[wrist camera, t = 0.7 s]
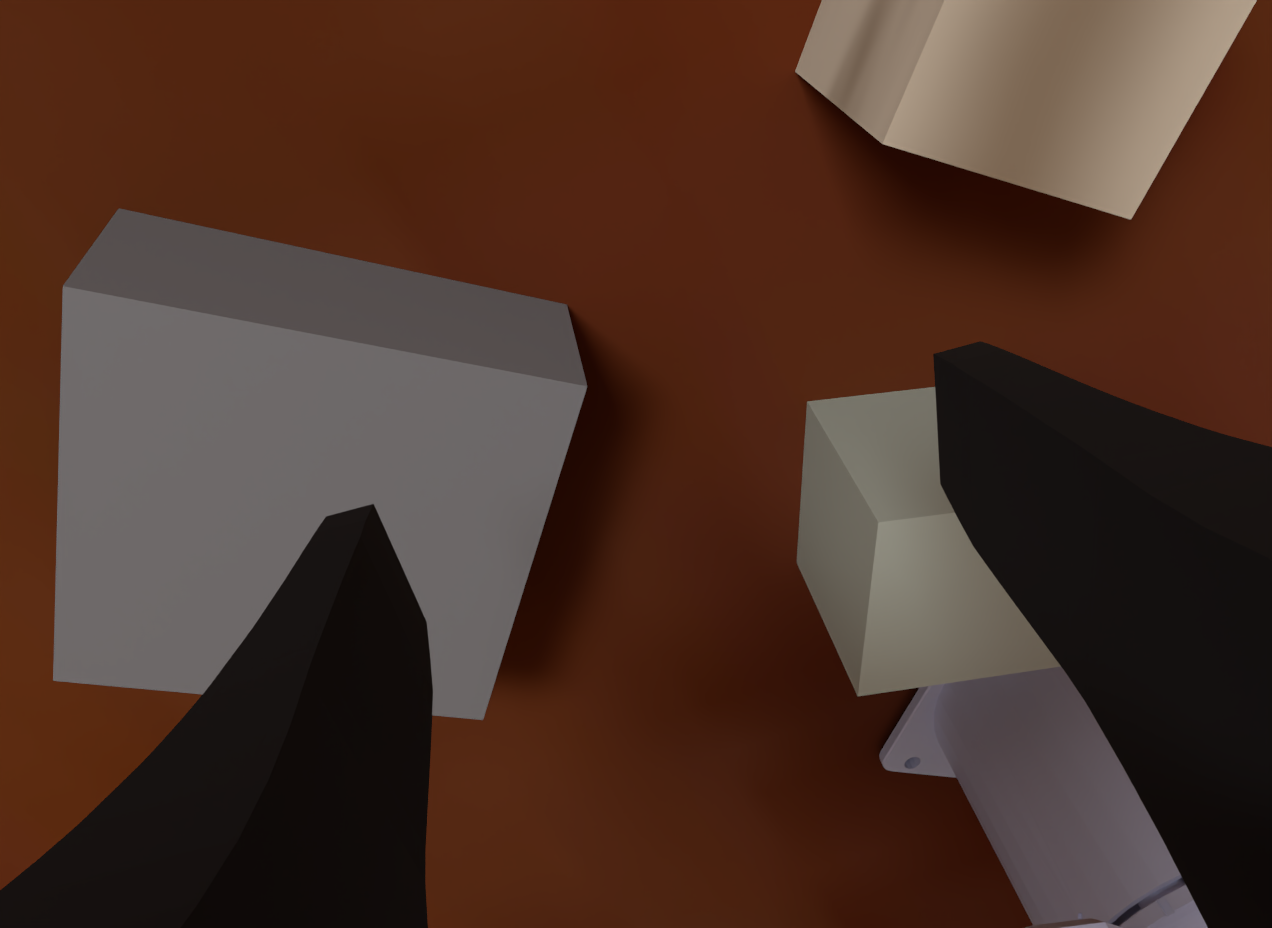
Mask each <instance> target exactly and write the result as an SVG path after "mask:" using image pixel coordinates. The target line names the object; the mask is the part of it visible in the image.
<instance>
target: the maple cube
mask: <svg viewBox="0 0 1272 928" xmlns="http://www.w3.org/2000/svg"><path fill="white" fill-rule="evenodd" d="M1256 1H1257V0H822V2H821V4H820V7H819V9H818V12H817V15H816V17H815V20H814V23H813V25H812V28H811V31H810V33H809V36H808V39H807V41H806V44H805V47H804V49H803V52H802V54H801V57H800V60H799V62H798V65H797V68H796V70H795V72H796V73H797V74H799V75H800V76H801V77H802V78H803V79H805V80H806V81H807V82H808V83H809V84H811V85H812V86H813V87H814V88H815V89H817V90H818V91H819V92H820V93H821V94H823V95H824V96H825V97H826V98H827V99H829V100H830V101H831V102H832V103H833V104H835V105H836V106H837V107H838V108H840V109H841V110H842V111H843V112H844V113H846V114H847V115H848V116H849V117H850V118H852V119H853V120H854V121H855V122H856V123H858V124H859V125H860V126H861V127H862V128H864V129H865V130H866V131H867V132H868V133H870V134H871V135H872V136H873V137H874V138H876V139H877V140H878V141H879V142H880V143H882V144H884V145H887V146H891V147H894V148H897V149H900V150H904V151H907V152H910V153H914V154H917V155H920V156H923V157H927V158H930V159H933V160H937V161H940V162H943V163H946V164H950V165H953V166H956V167H960V168H963V169H966V170H969V171H973V172H976V173H979V174H983V175H986V176H989V177H992V178H996V179H999V180H1002V181H1005V182H1009V183H1012V184H1015V185H1019V186H1022V187H1025V188H1028V189H1032V190H1035V191H1038V192H1042V193H1045V194H1048V195H1051V196H1055V197H1058V198H1061V199H1065V200H1068V201H1071V202H1074V203H1078V204H1081V205H1084V206H1088V207H1091V208H1094V209H1097V210H1101V211H1104V212H1107V213H1111V214H1114V215H1117V216H1120V217H1124V218H1127V219H1130V220H1131V219H1132V217H1133V215H1134V214H1135V212H1136V210H1137V208H1138V207H1139V205H1140V203H1141V201H1142V200H1143V198H1144V196H1145V194H1146V193H1147V191H1148V189H1149V187H1150V186H1151V184H1152V182H1153V180H1154V179H1155V177H1156V175H1157V173H1158V172H1159V170H1160V168H1161V166H1162V165H1163V163H1164V161H1165V160H1166V158H1167V156H1168V154H1169V153H1170V151H1171V149H1172V147H1173V146H1174V144H1175V142H1176V140H1177V139H1178V137H1179V135H1180V133H1181V132H1182V130H1183V128H1184V126H1185V125H1186V123H1187V121H1188V119H1189V118H1190V116H1191V114H1192V112H1193V111H1194V109H1195V107H1196V105H1197V104H1198V102H1199V100H1200V98H1201V97H1202V95H1203V93H1204V91H1205V90H1206V88H1207V86H1208V85H1209V83H1210V81H1211V79H1212V78H1213V76H1214V74H1215V72H1216V71H1217V69H1218V67H1219V65H1220V64H1221V62H1222V60H1223V58H1224V57H1225V55H1226V53H1227V51H1228V50H1229V48H1230V46H1231V44H1232V43H1233V41H1234V39H1235V37H1236V36H1237V34H1238V32H1239V30H1240V29H1241V27H1242V25H1243V23H1244V22H1245V20H1246V18H1247V16H1248V15H1249V13H1250V11H1251V10H1252V8H1253V6H1254V4H1255V3H1256Z"/></svg>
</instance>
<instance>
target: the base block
mask: <svg viewBox="0 0 1272 928" xmlns="http://www.w3.org/2000/svg"><path fill="white" fill-rule="evenodd" d="M586 389H587V383H586V379H585V375H584V371H583V367H582V363H581V359H580V355H579V351H578V347H577V343H576V339H575V335H574V331H573V327H572V323H571V319H570V315H569V311H568V307H567V305H566V304H561V303H557V302H552V301H547V300H543V299H538V298H533V297H529V296H524V295H519V294H515V293H510V292H505V291H501V290H496V289H491V288H487V287H482V286H478V285H473V284H468V283H464V282H459V281H454V280H450V279H445V278H440V277H436V276H431V275H426V274H422V273H417V272H412V271H408V270H403V269H398V268H394V267H389V266H384V265H380V264H375V263H370V262H366V261H361V260H356V259H352V258H347V257H342V256H338V255H333V254H329V253H324V252H319V251H315V250H310V249H305V248H301V247H296V246H291V245H287V244H282V243H277V242H273V241H268V240H263V239H259V238H254V237H249V236H245V235H240V234H235V233H231V232H226V231H221V230H217V229H212V228H207V227H203V226H198V225H193V224H189V223H184V222H180V221H175V220H170V219H166V218H161V217H156V216H152V215H147V214H142V213H138V212H133V211H128V210H124V209H118V210H117V212H116V213H115V214H114V216H113V217H112V219H111V220H110V221H109V223H108V224H107V226H106V227H105V228H104V230H103V231H102V232H101V234H100V235H99V237H98V238H97V239H96V241H95V242H94V244H93V245H92V246H91V248H90V249H89V251H88V252H87V253H86V255H85V256H84V258H83V259H82V260H81V262H80V263H79V264H78V266H77V267H76V269H75V270H74V271H73V273H72V274H71V276H70V277H69V278H68V280H67V281H66V283H65V284H64V285H63V304H62V345H61V385H60V426H59V467H58V507H57V548H56V589H55V629H54V670H53V681H62V682H73V683H84V684H95V685H106V686H117V687H128V688H139V689H150V690H161V691H172V692H183V693H193V694H203V693H204V692H205V691H206V690H207V688H208V687H209V686H210V685H211V683H212V682H213V681H214V679H215V678H216V676H217V675H218V674H219V672H220V671H221V670H222V668H223V667H224V666H225V664H226V663H227V662H228V660H229V659H230V658H231V656H232V655H233V654H234V652H235V651H236V650H237V648H238V647H239V646H240V644H241V643H242V642H243V640H244V639H245V637H246V636H247V635H248V633H249V632H250V631H251V629H252V628H253V627H254V625H255V624H256V622H257V621H258V619H259V618H260V616H261V615H262V613H263V612H264V610H265V609H266V607H267V606H268V604H269V603H270V601H271V600H272V598H273V597H274V595H275V594H276V592H277V591H278V589H279V588H280V586H281V585H282V583H283V582H284V580H285V579H286V577H287V576H288V574H289V572H290V571H291V569H292V568H293V566H294V565H295V563H296V561H297V560H298V558H299V557H300V555H301V554H302V552H303V550H304V549H305V547H306V546H307V544H308V543H309V541H310V540H311V538H312V536H313V535H314V533H315V532H316V530H317V529H318V527H319V526H320V524H321V523H322V522H323V520H324V519H325V517H326V516H329V515H333V514H337V513H341V512H344V511H348V510H352V509H356V508H359V507H363V506H367V505H371V504H374V506H375V508H376V510H377V512H378V515H379V517H380V519H381V521H382V524H383V526H384V528H385V530H386V532H387V535H388V537H389V539H390V541H391V544H392V546H393V548H394V550H395V553H396V555H397V557H398V559H399V561H400V564H401V566H402V568H403V570H404V573H405V575H406V577H407V579H408V581H409V584H410V586H411V588H412V590H413V593H414V595H415V597H416V599H417V602H418V604H419V606H420V608H421V610H422V613H423V615H424V617H425V619H426V622H427V630H428V639H429V649H430V659H431V672H432V685H433V706H432V715H435V716H446V717H457V718H468V719H479V720H483V718H484V715H485V712H486V708H487V705H488V702H489V699H490V696H491V693H492V689H493V686H494V683H495V680H496V677H497V673H498V670H499V667H500V664H501V661H502V657H503V654H504V651H505V648H506V645H507V641H508V638H509V635H510V632H511V629H512V626H513V622H514V619H515V616H516V613H517V610H518V606H519V603H520V600H521V597H522V594H523V590H524V587H525V584H526V581H527V578H528V574H529V571H530V568H531V565H532V562H533V559H534V555H535V552H536V549H537V546H538V543H539V539H540V536H541V533H542V530H543V527H544V523H545V520H546V517H547V514H548V511H549V507H550V504H551V501H552V498H553V495H554V491H555V488H556V485H557V482H558V479H559V476H560V472H561V469H562V466H563V463H564V460H565V456H566V453H567V450H568V447H569V444H570V440H571V437H572V434H573V431H574V428H575V424H576V421H577V418H578V415H579V412H580V409H581V405H582V402H583V399H584V396H585V393H586Z"/></svg>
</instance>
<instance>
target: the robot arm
mask: <svg viewBox="0 0 1272 928" xmlns="http://www.w3.org/2000/svg"><path fill="white" fill-rule="evenodd" d="M934 372H935V392H936V411H937V431H938V450H939V469H940V485H941V486H942V488H943V490H944V492H945V494H946V496H947V498H948V500H949V502H950V504H951V506H952V508H953V510H954V512H955V514H956V516H957V518H958V520H959V521H960V523H961V525H962V527H963V529H964V531H965V532H966V534H967V536H968V538H969V540H970V541H971V543H972V545H973V547H974V548H975V549H976V551H977V552H978V554H979V555H980V557H981V558H982V559H983V561H984V562H985V564H986V565H987V566H988V568H989V569H990V571H991V572H992V573H993V575H994V576H995V577H996V579H997V580H998V582H999V583H1000V584H1001V586H1002V587H1003V588H1004V590H1005V591H1006V593H1007V594H1008V595H1009V597H1010V598H1011V599H1012V601H1013V602H1014V603H1015V605H1016V606H1017V607H1018V609H1019V610H1020V612H1021V613H1022V614H1023V616H1024V617H1025V618H1026V620H1027V621H1028V622H1029V624H1030V625H1031V626H1032V628H1033V629H1034V631H1035V632H1036V633H1037V635H1038V636H1039V637H1040V639H1041V640H1042V641H1043V643H1044V644H1045V645H1046V647H1047V648H1048V649H1049V651H1050V652H1051V654H1052V655H1053V656H1054V658H1055V659H1056V660H1057V662H1058V663H1059V664H1060V666H1061V667H1055V668H1048V669H1041V670H1034V671H1027V672H1021V673H1014V674H1007V675H1000V676H993V677H987V678H980V679H973V680H966V681H959V682H953V683H946V684H939V685H932V686H926V687H919V689H918V691H917V692H916V694H915V696H914V697H913V699H912V700H911V702H910V704H909V705H908V707H907V709H906V710H905V712H904V714H903V715H902V717H901V719H900V720H899V722H898V723H897V725H896V727H895V728H894V730H893V732H892V733H891V735H890V737H889V738H888V740H887V741H886V743H885V745H884V746H883V748H882V750H881V751H880V754H879V758H880V761H881V763H882V765H883V767H884V768H885V769H886V770H889V771H894V772H904V773H914V774H924V775H934V776H944V777H954V778H957V779H958V781H959V783H960V785H961V787H962V789H963V791H964V793H965V795H966V797H967V799H968V801H969V803H970V804H971V806H972V808H973V810H974V812H975V814H976V816H977V818H978V820H979V822H980V824H981V826H982V828H983V829H984V831H985V833H986V835H987V837H988V839H989V841H990V843H991V845H992V847H993V849H994V851H995V853H996V855H997V856H998V858H999V860H1000V862H1001V864H1002V866H1003V868H1004V870H1005V872H1006V874H1007V876H1008V878H1009V880H1010V881H1011V883H1012V885H1013V887H1014V889H1015V891H1016V893H1017V895H1018V897H1019V899H1020V901H1021V903H1022V905H1023V907H1024V908H1025V910H1026V912H1027V914H1028V916H1029V918H1030V920H1031V922H1032V924H1033V925H1032V926H1029V927H1025V928H1272V447H1268V446H1265V445H1261V444H1257V443H1253V442H1250V441H1246V440H1242V439H1238V438H1235V437H1231V436H1227V435H1224V434H1221V433H1218V432H1214V431H1211V430H1208V429H1204V428H1201V427H1198V426H1195V425H1192V424H1190V423H1187V422H1184V421H1181V420H1178V419H1175V418H1172V417H1169V416H1166V415H1163V414H1160V413H1158V412H1155V411H1152V410H1149V409H1146V408H1144V407H1141V406H1139V405H1136V404H1133V403H1131V402H1128V401H1125V400H1123V399H1120V398H1118V397H1115V396H1113V395H1110V394H1108V393H1105V392H1103V391H1100V390H1098V389H1095V388H1093V387H1090V386H1088V385H1086V384H1083V383H1081V382H1078V381H1076V380H1074V379H1071V378H1069V377H1067V376H1064V375H1062V374H1060V373H1057V372H1055V371H1053V370H1050V369H1048V368H1046V367H1043V366H1041V365H1039V364H1036V363H1034V362H1032V361H1029V360H1027V359H1025V358H1022V357H1020V356H1017V355H1015V354H1013V353H1010V352H1008V351H1005V350H1003V349H1000V348H998V347H995V346H992V345H990V344H987V343H984V342H977V343H973V344H969V345H966V346H962V347H958V348H954V349H951V350H947V351H943V352H939V353H936V354H934ZM432 706H433V685H432V672H431V659H430V649H429V639H428V630H427V622H426V619H425V617H424V615H423V613H422V610H421V608H420V606H419V604H418V602H417V599H416V597H415V595H414V593H413V590H412V588H411V586H410V584H409V581H408V579H407V577H406V575H405V573H404V570H403V568H402V566H401V564H400V561H399V559H398V557H397V555H396V553H395V550H394V548H393V546H392V544H391V541H390V539H389V537H388V535H387V532H386V530H385V528H384V526H383V524H382V521H381V519H380V517H379V515H378V512H377V510H376V508H375V506H374V504H371V505H367V506H363V507H359V508H356V509H352V510H348V511H344V512H341V513H337V514H333V515H329V516H326V517H325V519H324V520H323V522H322V523H321V524H320V526H319V527H318V529H317V530H316V532H315V533H314V535H313V536H312V538H311V540H310V541H309V543H308V544H307V546H306V547H305V549H304V550H303V552H302V554H301V555H300V557H299V558H298V560H297V561H296V563H295V565H294V566H293V568H292V569H291V571H290V572H289V574H288V576H287V577H286V579H285V580H284V582H283V583H282V585H281V586H280V588H279V589H278V591H277V592H276V594H275V595H274V597H273V598H272V600H271V601H270V603H269V604H268V606H267V607H266V609H265V610H264V612H263V613H262V615H261V616H260V618H259V619H258V621H257V622H256V624H255V625H254V627H253V628H252V629H251V631H250V632H249V633H248V635H247V636H246V637H245V639H244V640H243V642H242V643H241V644H240V646H239V647H238V648H237V650H236V651H235V652H234V654H233V655H232V656H231V658H230V659H229V660H228V662H227V663H226V664H225V666H224V667H223V668H222V670H221V671H220V672H219V674H218V675H217V676H216V678H215V679H214V681H213V682H212V683H211V685H210V686H209V687H208V688H207V690H206V691H205V692H204V693H203V695H202V696H201V697H200V698H199V700H198V701H197V702H196V703H195V704H194V706H193V707H192V708H191V709H190V710H189V711H188V713H187V714H186V715H185V716H184V717H183V719H182V720H181V721H180V722H179V723H178V724H177V725H176V726H175V727H174V729H173V730H172V731H171V732H170V733H169V734H168V735H167V736H166V737H165V739H164V740H163V741H162V742H161V743H160V744H159V745H158V746H157V747H156V749H155V750H154V751H153V752H152V753H151V754H150V755H149V756H148V757H147V758H146V759H145V760H144V761H143V762H142V763H141V764H140V765H139V766H138V767H137V768H136V769H135V770H134V771H133V772H132V773H131V774H130V775H129V776H128V777H127V778H126V779H125V780H124V781H123V782H122V783H121V784H120V785H119V786H118V787H117V788H116V789H115V790H114V791H113V792H112V793H111V794H110V795H108V796H107V797H106V798H105V799H104V800H103V801H102V802H101V803H100V804H99V805H98V806H97V807H96V808H95V809H94V810H93V811H92V812H91V813H90V814H89V815H88V816H87V817H86V818H85V819H84V820H83V821H82V822H81V823H79V824H78V825H77V826H76V827H75V828H74V829H73V830H72V831H71V832H69V833H68V834H67V835H66V836H65V837H64V838H63V839H61V840H60V841H59V842H58V843H57V844H56V845H54V846H53V847H52V848H51V849H50V850H49V851H48V852H46V853H45V854H44V855H43V856H42V857H41V858H39V859H38V860H37V861H36V862H35V863H33V864H32V865H31V866H30V867H29V868H27V869H26V870H25V871H24V872H22V873H21V874H20V875H19V876H18V877H16V878H15V879H14V880H13V881H11V882H10V883H9V884H8V885H7V886H5V887H4V888H3V889H2V890H0V928H428V924H427V907H426V890H425V845H426V826H427V807H428V788H429V769H430V750H431V729H432Z"/></svg>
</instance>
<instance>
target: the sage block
mask: <svg viewBox="0 0 1272 928" xmlns="http://www.w3.org/2000/svg"><path fill="white" fill-rule="evenodd" d="M797 564H798V567H799V569H800V571H801V573H802V575H803V578H804V580H805V582H806V584H807V586H808V589H809V591H810V593H811V595H812V597H813V600H814V602H815V604H816V606H817V608H818V610H819V613H820V615H821V617H822V619H823V621H824V624H825V626H826V628H827V630H828V632H829V635H830V637H831V639H832V641H833V643H834V646H835V648H836V650H837V652H838V654H839V657H840V659H841V661H842V663H843V665H844V667H845V670H846V672H847V674H848V676H849V678H850V681H851V683H852V685H853V687H854V689H855V692H856V694H857V696H864V695H871V694H878V693H885V692H892V691H898V690H905V689H912V688H919V687H926V686H932V685H939V684H946V683H953V682H959V681H966V680H973V679H980V678H987V677H993V676H1000V675H1007V674H1014V673H1021V672H1027V671H1034V670H1041V669H1048V668H1055V667H1061V666H1060V664H1059V663H1058V662H1057V660H1056V659H1055V658H1054V656H1053V655H1052V654H1051V652H1050V651H1049V649H1048V648H1047V647H1046V645H1045V644H1044V643H1043V641H1042V640H1041V639H1040V637H1039V636H1038V635H1037V633H1036V632H1035V631H1034V629H1033V628H1032V626H1031V625H1030V624H1029V622H1028V621H1027V620H1026V618H1025V617H1024V616H1023V614H1022V613H1021V612H1020V610H1019V609H1018V607H1017V606H1016V605H1015V603H1014V602H1013V601H1012V599H1011V598H1010V597H1009V595H1008V594H1007V593H1006V591H1005V590H1004V588H1003V587H1002V586H1001V584H1000V583H999V582H998V580H997V579H996V577H995V576H994V575H993V573H992V572H991V571H990V569H989V568H988V566H987V565H986V564H985V562H984V561H983V559H982V558H981V557H980V555H979V554H978V552H977V551H976V549H975V548H974V547H973V545H972V543H971V541H970V540H969V538H968V536H967V534H966V532H965V531H964V529H963V527H962V525H961V523H960V521H959V520H958V518H957V516H956V514H955V512H954V510H953V508H952V506H951V504H950V502H949V500H948V498H947V496H946V494H945V492H944V490H943V488H942V486H941V485H940V469H939V450H938V431H937V411H936V392H935V387H931V388H922V389H913V390H905V391H896V392H887V393H878V394H870V395H861V396H852V397H843V398H835V399H826V400H817V401H808V402H807V412H806V427H805V442H804V458H803V473H802V488H801V504H800V519H799V534H798V550H797Z"/></svg>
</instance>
